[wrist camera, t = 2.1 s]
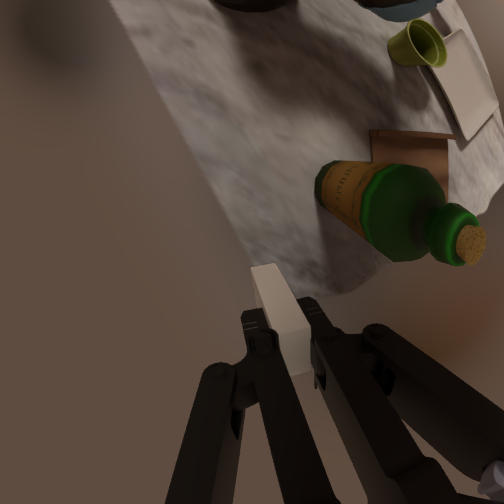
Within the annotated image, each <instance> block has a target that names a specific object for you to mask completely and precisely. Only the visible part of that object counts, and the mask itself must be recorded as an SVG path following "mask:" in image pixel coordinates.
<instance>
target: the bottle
mask: <svg viewBox="0 0 504 504" xmlns="http://www.w3.org/2000/svg"><path fill="white" fill-rule="evenodd" d="M315 194H316V197H317V199H318V201H319V203H320V205H321V206H323V207H324V208H325V209H327V210H328V211H329V212H331V213H332V214H333V215H335V216H336V217H337V218H339V219H340V220H341V221H343V222H344V223H345V224H346V225H348V226H349V227H350V228H352V229H353V230H354V231H355V232H357V233H358V234H359V235H360V236H362V237H363V238H364V239H365V240H367V241H368V242H369V243H370V244H371V245H373V246H374V247H375V248H376V249H377V250H379V251H380V252H381V253H383V254H384V255H385V256H387V257H388V258H389V259H390V260H392V261H393V262H402V261H413V260H417V259H420V258H422V257H423V256H424V255H426V254H427V253H428V252H430V253H431V255H432V256H433V257H434V258H435V259H436V260H437V261H440V262H443V263H447V264H450V265H453V266H462V265H464V264H465V263H467V264H468V265H474V264H475V263H476V262H477V261H478V260H479V259H480V257H481V255H482V253H483V251H484V248H485V243H486V232H485V231H484V229H483V228H481V227H479V222H478V220H477V219H476V217H475V215H473V214H472V213H470V212H469V211H468V210H466V209H465V208H464V207H462V206H461V205H459V204H456V203H448V204H446V198H445V193H444V191H443V189H442V188H441V186H440V184H439V183H438V182H437V180H436V179H435V178H434V177H433V175H432V174H431V173H430V172H429V171H428V169H427V168H422V167H417V166H412V165H406V164H394V163H381V162H363V161H336V160H334V161H332V162H331V163H329V164H327V165H325V166H323V167H322V169H321V170H320V172H319V173H318V175H317V177H316V178H315Z"/></svg>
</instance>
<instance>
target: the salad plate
mask: <svg viewBox="0 0 504 504" xmlns="http://www.w3.org/2000/svg"><path fill="white" fill-rule="evenodd" d="M443 41H444V43H445V46H446V49H447V62H446V64H445V65H444V66H443V67H441V68H435V67H432V66H428V65H427V66H428V67H429V69H430V71H431V72H432V74H433V75H434V77H435V79H436V81H437V82H438V84H439V86H440V88H441V90H442V92H443V94H444V96H445V98H446V100H447V102H448V104H449V106H450V108H451V110H452V112H453V115H454V117H455V119H456V122H457V124H458V127H459V129H460V132H461V134H462V136H463V137H464V139H465V140H467V141H469V140H470V139H471V138H472V137H473V136H474V135H475V134H476V132H477V131H478V130H479V129H480V128H481V126H482V125H483V124H484V123H485V122H486V121H487V119H488V118H489V117H490V116H491V115H492V114H493V113H494V111H495V110H496V109H497V108H498V106H499V102H498V100H497V97H496V95H495V92H494V90H493V87H492V85H491V83H490V80H489V78H488V76H487V74H486V72H485V69H484V67H483V65H482V63H481V61H480V59H479V58H478V56H477V54H476V52H475V50H474V48H473V46H472V45H471V43H470V41H469V39H468V38H467V36H466V34H465V33H464V31H463V30H462V29H457V30H455V31H454V32H452V33H451V34H449V35H448V36H446V37H445V38H443Z"/></svg>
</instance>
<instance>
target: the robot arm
mask: <svg viewBox="0 0 504 504" xmlns="http://www.w3.org/2000/svg"><path fill="white" fill-rule="evenodd" d="M214 1H216V2H217V3H219V4H221V5H223V6H225V7H228V8H231V9H234V10H238V11H245V12H264V11H269V10H273V9H276V8H279V7H281V6H283V5H285V4H286V3H287V2H288V1H289V0H214ZM354 1H355V2H357V3H358V5H360V6H361V7H363V8H365V9H368V10H370V11H372V12H373V13H375V14H376V15H378V16H379V17H381V18H383V19H385V20H387V21H393V22H406V21H411V20H414V19H417V18H419V17H421V16H423V15H425V14H427V13H429V12H431V11H432V10H433V9H435V8H436V7H437V4H438V3H441V2H442V1H443V0H354ZM251 273H252V279H253V286H254V292H255V299H256V305H257V309H252V310H247V311H243V313H242V316H241V322H242V326H243V332H244V336H245V341H246V345H247V354H246V356H245V357H244V359H242V360H241V361H240V362H238V363H236V364H234V365H230V364H228V363H223V362H219V363H214V364H212V365H210V366H208V367H207V368H206V369H205V370H204V372H203V374H202V377H201V380H200V383H199V387H198V390H197V393H196V397H195V400H194V404H193V407H192V410H191V414H190V417H189V420H188V424H187V427H186V431H185V434H184V438H183V441H182V445H181V448H180V452H179V455H178V459H177V462H176V465H175V469H174V472H173V476H172V479H171V483H170V487H169V490H168V494H167V497H166V501H165V504H232V503H233V496H234V489H235V483H236V475H237V469H238V462H239V455H240V447H241V440H242V432H243V425H244V418H245V409H246V408H248V407H250V406H252V405H254V404H256V403H258V402H259V405H260V409H261V413H262V417H263V422H264V426H265V430H266V434H267V438H268V442H269V446H270V450H271V455H272V458H273V462H274V466H275V470H276V474H277V478H278V482H279V486H280V489H281V493H282V497H283V501H284V504H341V503H340V501H339V500H338V499H337V498H336V496H335V494H334V492H333V490H332V487H331V484H330V482H329V479H328V477H327V474H326V471H325V468H324V466H323V463H322V461H321V458H320V455H319V453H318V450H317V448H316V445H315V442H314V439H313V437H312V434H311V431H310V429H309V426H308V424H307V421H306V418H305V415H304V413H303V410H302V407H301V405H300V402H299V399H298V396H297V394H296V391H295V388H294V386H293V383H292V381H291V378H290V377H291V376H295V375H299V374H303V373H306V372H310V371H311V364H312V366H313V368H314V370H315V374H314V386H315V389H317V385H318V387H319V389H320V391H321V394H322V396H323V398H324V400H325V402H326V405H327V407H328V409H329V411H330V414H331V416H332V418H333V420H334V423H335V425H336V427H337V429H338V432H339V434H340V436H341V438H342V441H343V443H344V445H345V447H346V450H347V452H348V454H349V456H350V459H351V461H352V463H353V466H354V467H355V470H356V472H357V475H358V477H359V479H360V481H361V483H362V486H363V488H364V491H365V493H366V495H367V499H368V504H504V411H503V410H502V409H501V408H499V407H498V406H497V405H495V404H494V403H493V402H491V401H490V400H489V399H487V398H486V397H484V396H483V395H482V394H481V393H479V392H478V391H476V390H475V389H474V388H472V387H471V386H469V385H468V384H467V383H466V382H464V381H463V380H461V379H460V378H459V377H457V376H456V375H455V374H453V373H452V372H450V371H449V370H448V369H446V368H445V367H444V366H442V365H441V364H439V363H438V362H437V361H435V360H434V359H432V358H431V357H429V356H428V355H427V354H425V353H424V352H423V351H421V350H420V349H418V348H417V347H415V346H414V345H413V344H411V343H410V342H408V341H407V340H406V339H404V338H402V337H401V336H400V335H399V334H397V333H396V332H394V331H393V330H391V329H390V328H389V327H387V326H385V325H383V324H377V323H376V324H370V325H368V326H366V327H365V328H364V329H363V332H362V334H345V333H344V332H343V331H342V330H341V329H339V328H337V327H333V325H332V324H331V322H330V321H329V319H328V318H327V316H326V315H325V313H324V312H323V310H322V309H321V307H320V306H319V304H318V303H317V301H316V300H314V299H313V298H311V297H304V298H300V299H295V298H294V296H293V294H292V292H291V290H290V289H289V287H288V285H287V283H286V282H285V280H284V278H283V276H282V274H281V273H280V271H279V269H278V267H277V266H276V264H275V263H272V264H267V265H262V266H256V267H251ZM401 419H403V420H404V421H405V422H406V423H407V424H408V425H409V426H410V427H411V428H412V429H413V430H414V431H416V432H417V433H418V434H419V435H420V436H421V437H422V438H423V439H424V440H425V441H426V442H428V443H429V444H430V445H431V446H432V447H433V448H434V449H435V450H436V451H438V452H439V453H440V454H441V455H442V456H443V457H444V458H445V459H446V460H448V461H449V462H450V463H451V464H452V465H453V466H454V467H455V468H456V469H458V470H459V471H460V472H462V473H463V474H464V475H466V476H468V477H469V478H471V479H473V480H476V481H479V482H480V484H479V485H478V488H477V490H478V493H479V494H486V495H487V496H489V497H490V499H491V500H487V499H482V498H477V497H472V496H468V495H464V494H460V493H456V490H455V489H454V487H453V485H452V484H451V482H450V480H449V479H448V477H447V475H446V474H445V472H444V470H443V469H442V467H441V465H440V464H439V463H438V462H437V460H435V459H434V458H430V457H425V456H424V455H423V454H422V453H421V451H420V450H419V447H418V446H417V444H416V443H415V441H414V439H413V438H412V436H411V434H410V433H409V431H408V430H407V428H406V426H405V425H404V423H403V422H402V420H401Z"/></svg>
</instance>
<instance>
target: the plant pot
mask: <svg viewBox="0 0 504 504" xmlns="http://www.w3.org/2000/svg"><path fill="white" fill-rule="evenodd" d="M388 51H389V54H390V55H391V57H392V58H393V59H394V61H395V62H397V63H398V64H400V65H403V66H417V65H428V66H432V67H435V68H441V67H443V66H444V65H445V64H446V62H447V49H446V46H445V43H444V41H443V39H442V37H441V35H440V34H439V33H438V31H437V30H436V29H435V28H434V27H433V26H432V25H431V24H430V23H428V22H427V21H425V20H423V19H420V18H417V19H414V20H411V21H409V22H408V24H407V26H406V27H405V29H403V30H402V31H401V32H399V33H398V34H397V35H395V36H394V37H392V38H391V39H390V40H389V41H388Z"/></svg>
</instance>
